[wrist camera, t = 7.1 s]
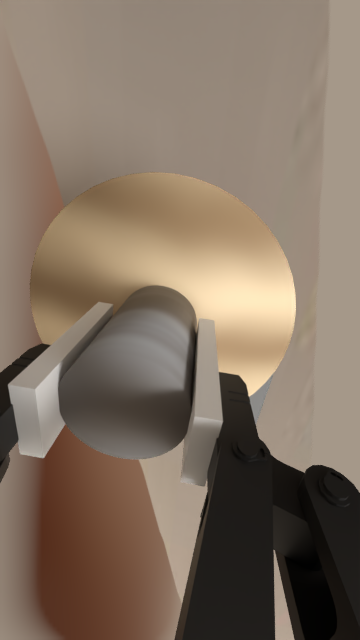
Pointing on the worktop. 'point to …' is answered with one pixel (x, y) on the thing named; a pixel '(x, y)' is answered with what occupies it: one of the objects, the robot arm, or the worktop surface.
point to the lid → (158, 303)
